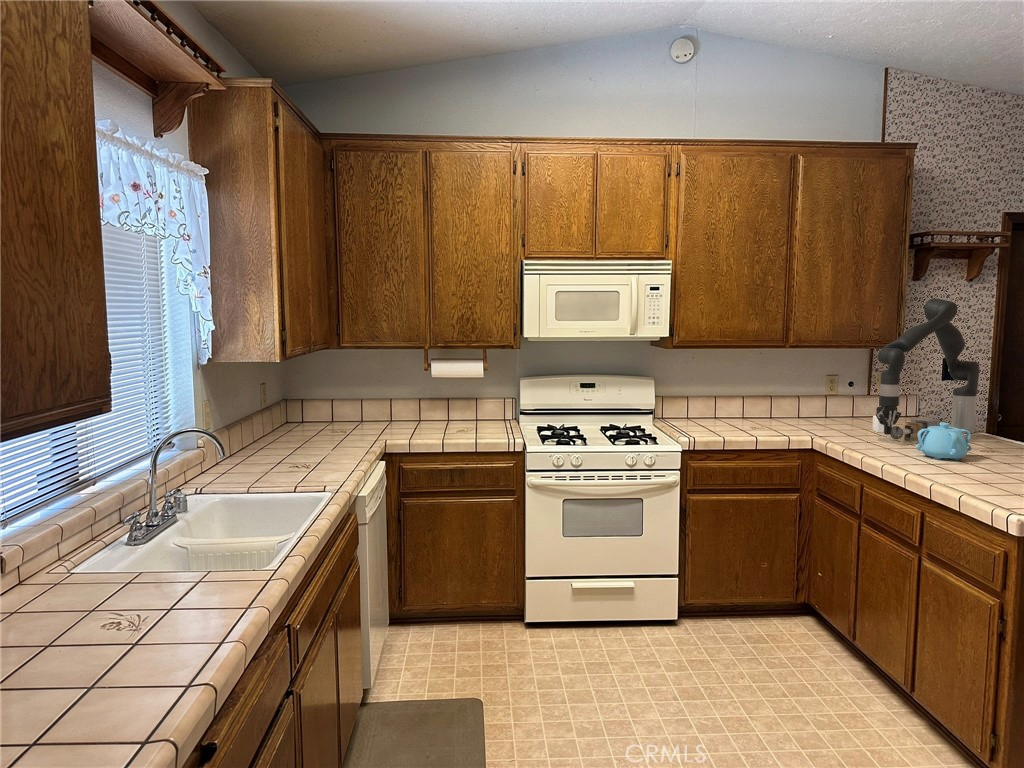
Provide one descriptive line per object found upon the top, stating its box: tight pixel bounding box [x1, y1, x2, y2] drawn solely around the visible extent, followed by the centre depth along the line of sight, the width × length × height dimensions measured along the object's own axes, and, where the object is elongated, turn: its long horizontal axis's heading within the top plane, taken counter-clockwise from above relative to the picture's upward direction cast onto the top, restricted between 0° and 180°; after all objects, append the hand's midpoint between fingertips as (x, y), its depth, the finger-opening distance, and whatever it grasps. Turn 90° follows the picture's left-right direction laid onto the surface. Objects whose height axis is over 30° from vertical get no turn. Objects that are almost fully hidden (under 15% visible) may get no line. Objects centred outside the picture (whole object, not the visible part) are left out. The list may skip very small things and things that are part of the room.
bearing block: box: [877, 417, 941, 446], centre depth 293 cm, size 26×12×9 cm, turn 111°
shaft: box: [890, 425, 923, 439], centre depth 293 cm, size 18×6×6 cm, turn 112°
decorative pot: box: [915, 422, 972, 461], centre depth 259 cm, size 16×16×14 cm
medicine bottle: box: [872, 405, 895, 434], centre depth 315 cm, size 7×7×12 cm
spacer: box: [902, 421, 922, 439], centre depth 293 cm, size 4×6×7 cm
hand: (887, 434), depth 288 cm, fingers closed
